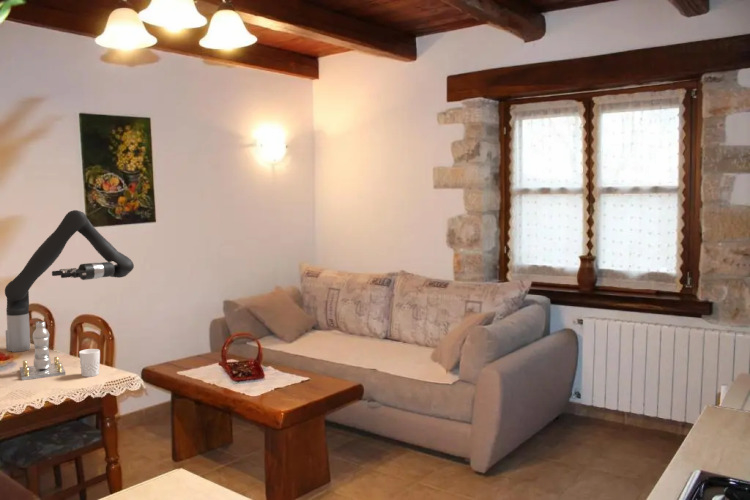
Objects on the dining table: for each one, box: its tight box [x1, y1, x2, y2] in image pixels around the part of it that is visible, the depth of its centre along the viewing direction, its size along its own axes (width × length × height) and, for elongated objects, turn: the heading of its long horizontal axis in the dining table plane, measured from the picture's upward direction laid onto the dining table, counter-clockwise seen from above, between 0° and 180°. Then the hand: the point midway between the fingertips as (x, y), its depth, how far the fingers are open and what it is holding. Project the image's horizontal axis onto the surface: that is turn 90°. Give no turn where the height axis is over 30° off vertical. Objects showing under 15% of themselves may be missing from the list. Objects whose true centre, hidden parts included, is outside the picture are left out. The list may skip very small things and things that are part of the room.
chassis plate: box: [19, 356, 66, 381], centre depth 275 cm, size 16×16×4 cm
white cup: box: [78, 348, 101, 378], centre depth 272 cm, size 8×8×10 cm
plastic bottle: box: [32, 320, 52, 369], centre depth 275 cm, size 6×7×20 cm
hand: (56, 274), depth 295 cm, fingers open, 8 cm apart
